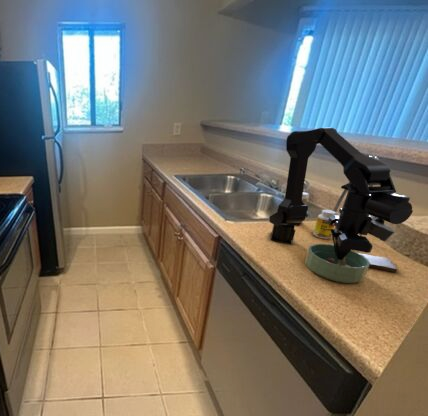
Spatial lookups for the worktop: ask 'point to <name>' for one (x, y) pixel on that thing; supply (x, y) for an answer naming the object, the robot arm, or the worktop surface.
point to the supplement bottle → (324, 224)
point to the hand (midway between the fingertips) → (338, 257)
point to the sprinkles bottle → (305, 197)
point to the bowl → (332, 271)
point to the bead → (331, 260)
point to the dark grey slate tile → (380, 263)
